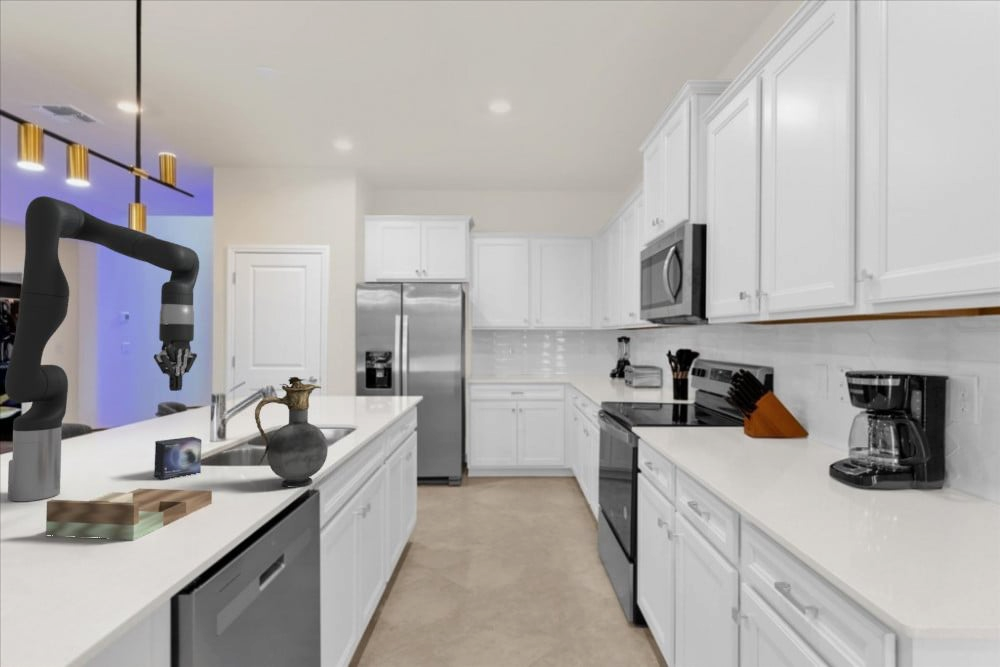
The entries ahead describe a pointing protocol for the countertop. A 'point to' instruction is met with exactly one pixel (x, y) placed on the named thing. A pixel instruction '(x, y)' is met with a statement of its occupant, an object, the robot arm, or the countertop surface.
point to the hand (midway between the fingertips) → (175, 390)
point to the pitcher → (294, 438)
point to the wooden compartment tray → (123, 514)
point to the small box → (177, 457)
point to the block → (115, 497)
